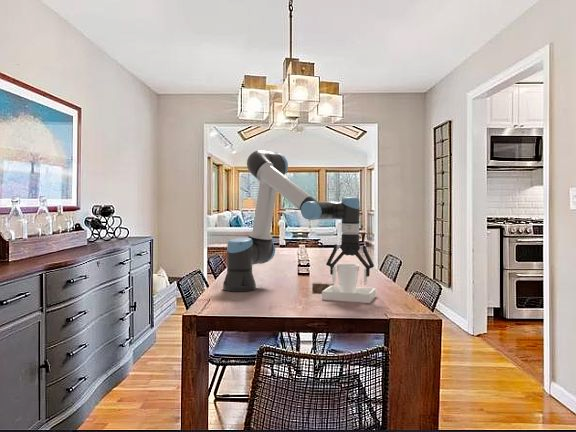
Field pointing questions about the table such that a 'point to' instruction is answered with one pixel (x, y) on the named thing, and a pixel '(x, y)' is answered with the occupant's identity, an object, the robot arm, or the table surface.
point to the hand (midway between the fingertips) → (349, 283)
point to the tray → (349, 294)
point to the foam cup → (348, 277)
